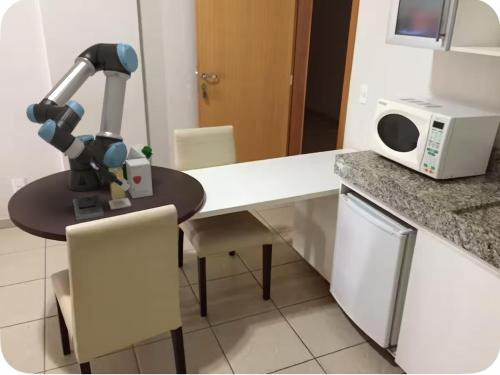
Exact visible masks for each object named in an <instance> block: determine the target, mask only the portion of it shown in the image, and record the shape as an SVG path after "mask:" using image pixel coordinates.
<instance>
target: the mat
mask: <svg viewBox="0 0 500 375" xmlns="http://www.w3.org/2000/svg"><path fill="white" fill-rule="evenodd" d="M108 204H109V206H110V210H116V209H117V210H118V209H122V208H123V209H124V208H129V207H130V208H131V207H132V204H131V202H130V199H129V198H128V197H125V199H118V200H113V199H112V200H108Z"/></svg>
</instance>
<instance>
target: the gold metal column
mask: <svg viewBox="0 0 500 375" xmlns="http://www.w3.org/2000/svg"><path fill="white" fill-rule="evenodd" d="M108 171H110V172H111V173H112V174H114V175H115V176H117V177H119V178H120V179H121V180H123V181H124V178H123V170H122V166H120V167H116V168H108ZM109 188H110V196H111V199H112V200H118V199H125V198H126V191H125V190H123V189H122V188H121V187H119V186H118V185H116V184H115V183H112V184H111V182H110V181H109Z"/></svg>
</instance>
